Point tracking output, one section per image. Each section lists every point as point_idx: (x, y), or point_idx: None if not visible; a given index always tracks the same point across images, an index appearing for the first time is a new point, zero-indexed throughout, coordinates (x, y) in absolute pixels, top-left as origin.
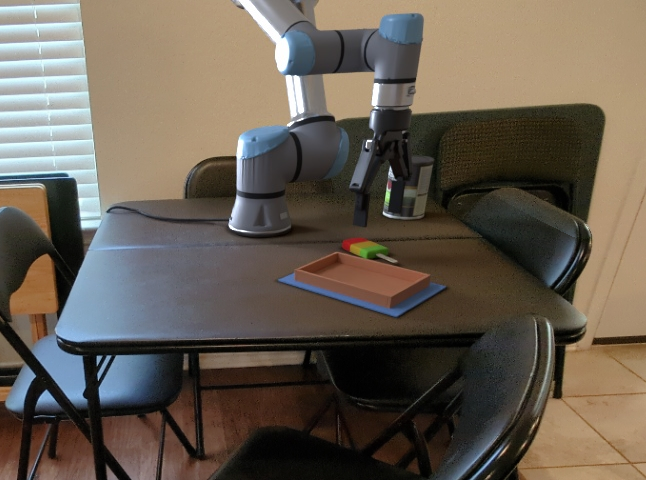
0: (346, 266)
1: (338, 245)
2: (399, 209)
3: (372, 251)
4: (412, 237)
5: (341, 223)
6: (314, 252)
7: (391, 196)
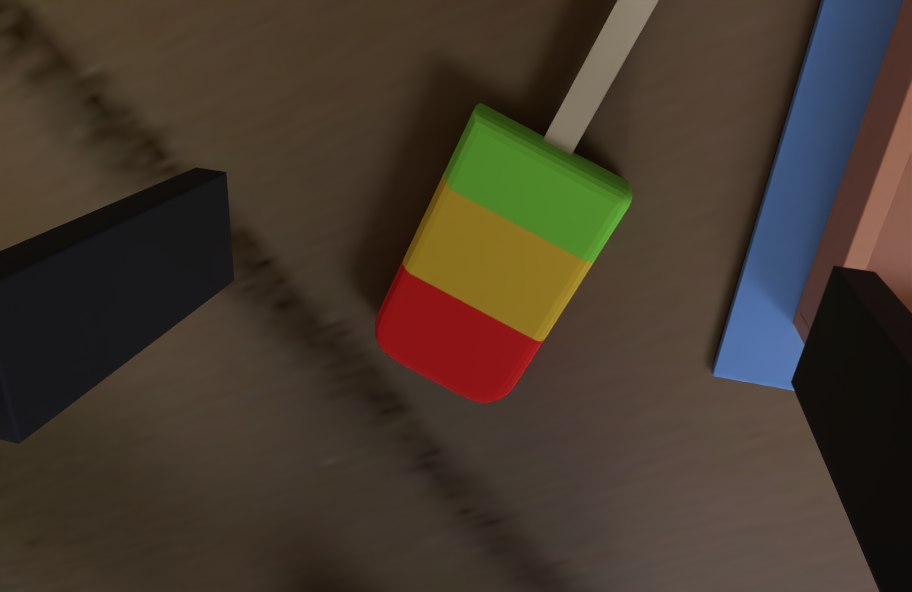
0: (883, 231)
1: (461, 411)
2: (205, 187)
3: (595, 178)
4: (64, 119)
5: (137, 506)
6: (650, 475)
7: (145, 328)
